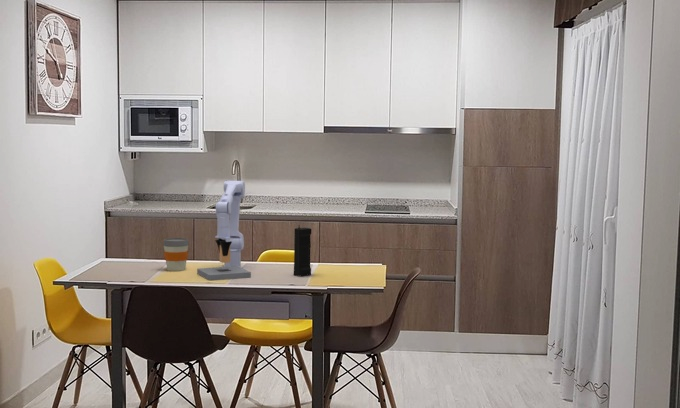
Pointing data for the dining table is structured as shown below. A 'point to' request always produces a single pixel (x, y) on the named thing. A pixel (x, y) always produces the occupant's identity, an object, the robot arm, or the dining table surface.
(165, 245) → the reusable coffee cup
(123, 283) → the dining table surface
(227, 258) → the plug
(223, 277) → the socket plate
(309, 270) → the portable radio
